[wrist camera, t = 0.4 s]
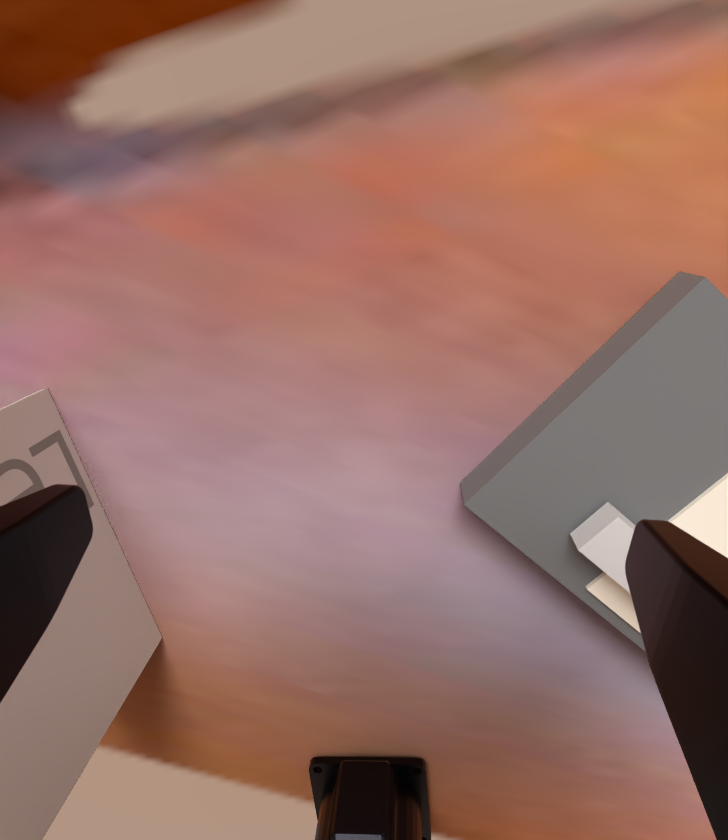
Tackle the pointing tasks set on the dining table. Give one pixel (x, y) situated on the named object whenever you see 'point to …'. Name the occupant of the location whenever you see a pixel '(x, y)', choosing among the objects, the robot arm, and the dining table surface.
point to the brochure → (65, 636)
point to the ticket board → (620, 451)
